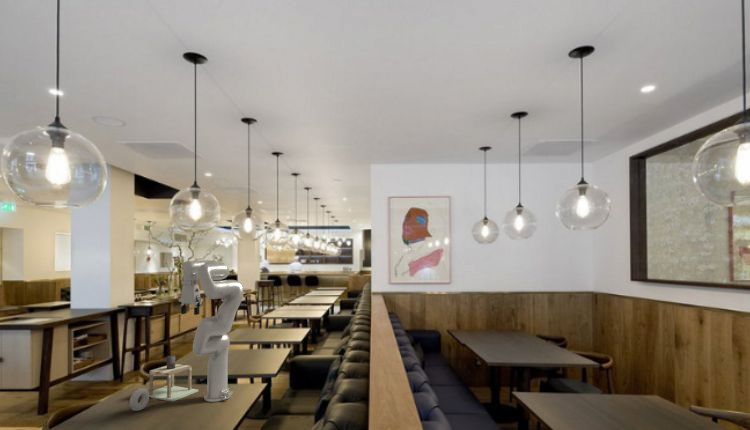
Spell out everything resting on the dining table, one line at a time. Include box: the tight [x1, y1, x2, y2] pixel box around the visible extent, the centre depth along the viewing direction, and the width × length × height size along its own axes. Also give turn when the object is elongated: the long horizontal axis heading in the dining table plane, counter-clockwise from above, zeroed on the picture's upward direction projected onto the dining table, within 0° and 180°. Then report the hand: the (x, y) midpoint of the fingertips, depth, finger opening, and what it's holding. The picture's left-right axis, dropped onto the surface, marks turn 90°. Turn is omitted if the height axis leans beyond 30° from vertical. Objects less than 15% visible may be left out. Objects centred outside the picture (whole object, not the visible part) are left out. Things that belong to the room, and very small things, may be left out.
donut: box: [129, 387, 150, 412], centre depth 197 cm, size 10×4×10 cm, turn 162°
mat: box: [150, 385, 199, 403], centre depth 219 cm, size 22×16×1 cm
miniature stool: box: [148, 355, 193, 398], centre depth 220 cm, size 14×14×18 cm
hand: (190, 314), depth 236 cm, fingers open, 9 cm apart
